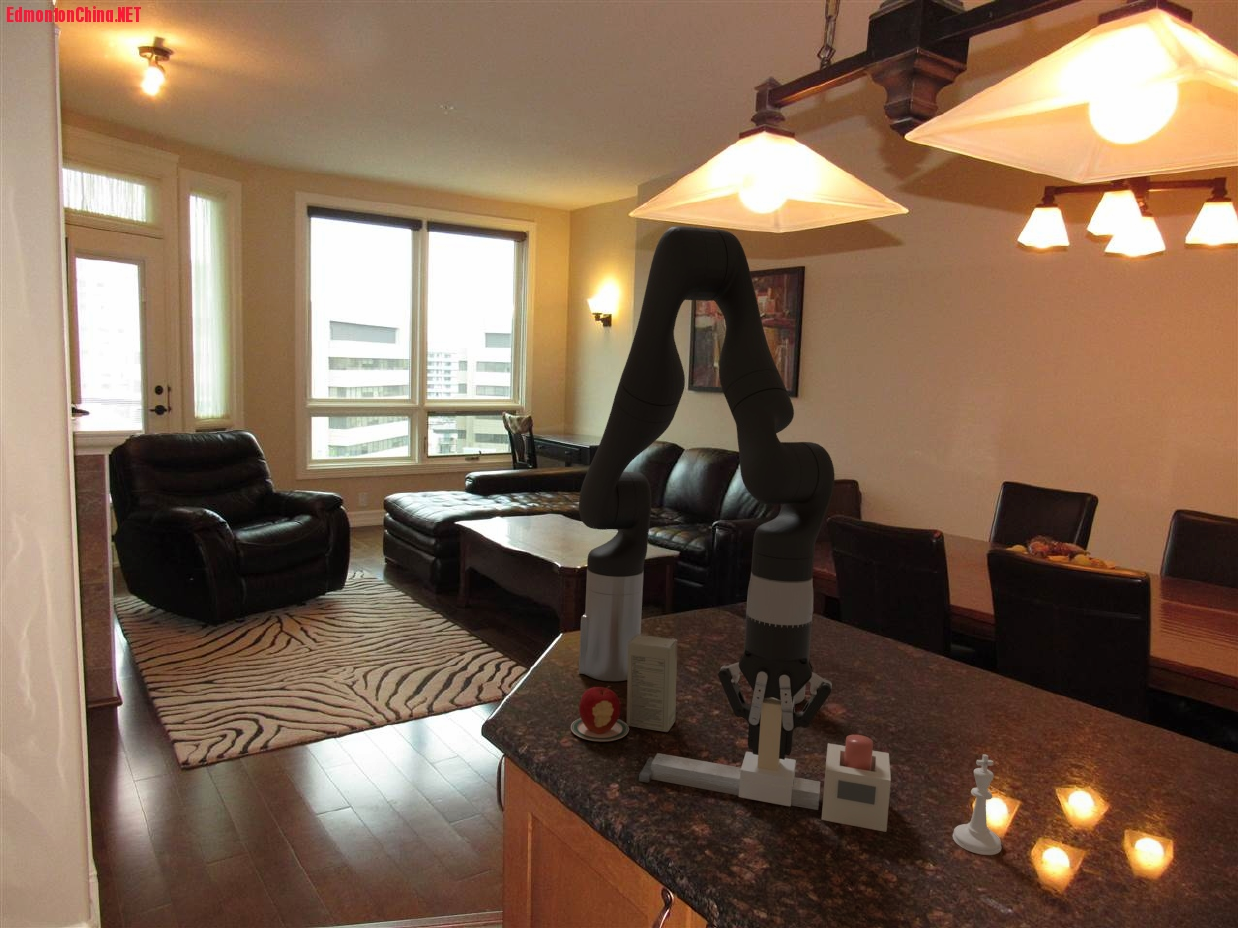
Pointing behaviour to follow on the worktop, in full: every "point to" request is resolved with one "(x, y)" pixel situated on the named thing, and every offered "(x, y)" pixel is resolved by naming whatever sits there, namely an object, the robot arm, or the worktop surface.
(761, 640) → the robot arm
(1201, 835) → the worktop surface
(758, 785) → the carriage
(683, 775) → the rail
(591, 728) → the apple
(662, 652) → the skincare box
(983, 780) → the chess piece
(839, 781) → the cream square box
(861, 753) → the button
